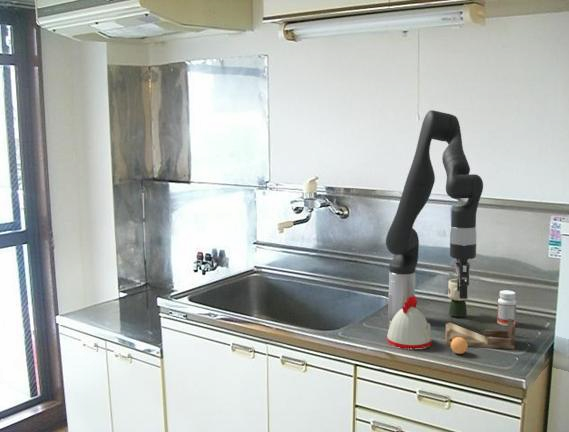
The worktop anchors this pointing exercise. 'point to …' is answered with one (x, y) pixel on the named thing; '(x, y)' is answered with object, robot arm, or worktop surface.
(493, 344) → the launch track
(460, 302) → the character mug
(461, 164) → the robot arm
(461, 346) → the ball
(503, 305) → the pill bottle
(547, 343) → the worktop surface
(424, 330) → the white dome
